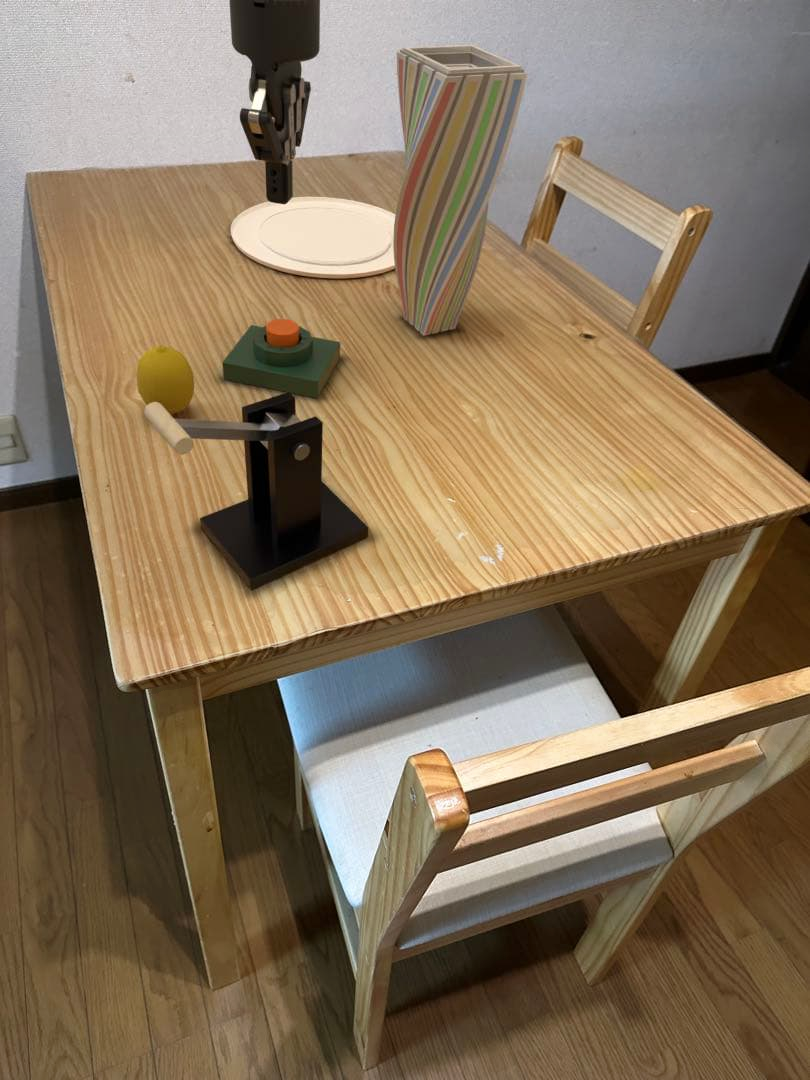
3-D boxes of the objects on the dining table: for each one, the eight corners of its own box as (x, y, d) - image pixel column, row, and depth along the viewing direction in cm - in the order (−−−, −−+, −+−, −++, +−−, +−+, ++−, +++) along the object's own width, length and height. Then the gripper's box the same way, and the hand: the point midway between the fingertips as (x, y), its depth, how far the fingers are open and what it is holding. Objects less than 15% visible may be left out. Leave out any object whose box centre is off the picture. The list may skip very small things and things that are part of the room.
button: (262, 345, 85) (261, 331, 84) (273, 330, 87) (272, 316, 86) (293, 351, 84) (293, 337, 83) (303, 336, 87) (303, 322, 86)
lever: (170, 461, 53) (179, 430, 52) (140, 424, 55) (147, 394, 54) (307, 462, 62) (317, 436, 60) (275, 430, 64) (284, 405, 63)
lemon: (191, 431, 78) (183, 363, 73) (136, 427, 78) (123, 358, 72) (202, 401, 82) (195, 334, 77) (150, 397, 82) (139, 329, 76)
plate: (262, 288, 102) (262, 283, 101) (210, 207, 119) (209, 203, 119) (449, 267, 111) (449, 263, 111) (375, 196, 129) (375, 191, 129)
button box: (223, 379, 86) (220, 347, 83) (252, 341, 92) (250, 310, 89) (317, 398, 85) (318, 366, 82) (340, 358, 91) (341, 327, 88)
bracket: (250, 590, 64) (242, 470, 55) (200, 527, 68) (184, 408, 60) (368, 537, 69) (377, 420, 61) (314, 482, 74) (315, 367, 65)
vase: (444, 291, 106) (477, 39, 85) (501, 337, 98) (553, 71, 77) (358, 309, 100) (372, 42, 80) (412, 359, 92) (443, 78, 72)
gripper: (259, -30, 68) (266, 173, 80) (199, -8, 59) (217, 218, 71) (340, -18, 68) (335, 185, 80) (292, 6, 58) (295, 232, 70)
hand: (279, 200), depth 75 cm, fingers closed
